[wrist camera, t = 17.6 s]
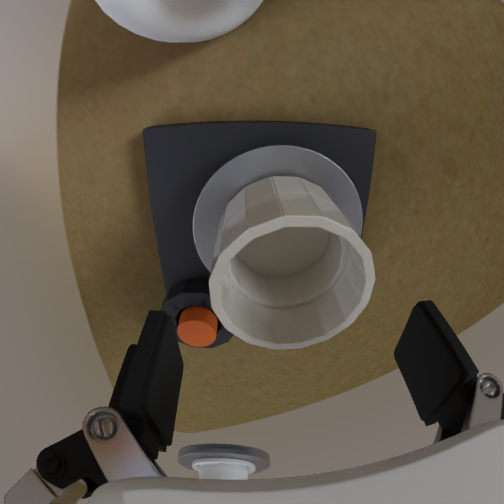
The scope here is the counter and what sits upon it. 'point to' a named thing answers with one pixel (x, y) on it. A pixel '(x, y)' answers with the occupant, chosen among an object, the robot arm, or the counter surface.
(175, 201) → the scale
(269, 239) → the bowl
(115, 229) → the counter surface
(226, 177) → the brushed metal disc
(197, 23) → the white knot sculpture
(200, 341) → the tare button
